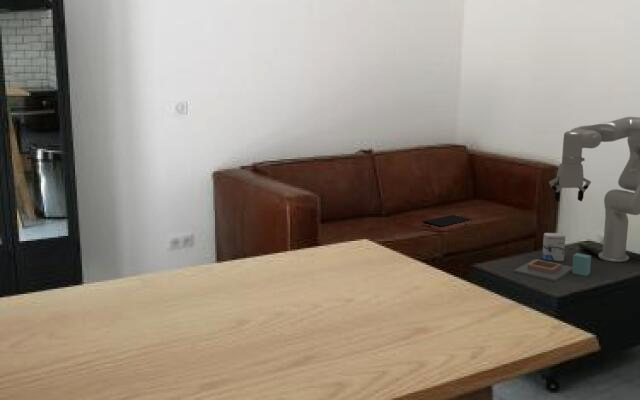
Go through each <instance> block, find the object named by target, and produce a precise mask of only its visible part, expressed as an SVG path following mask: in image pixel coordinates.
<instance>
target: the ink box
mask: <svg viewBox="0 0 640 400" xmlns="http://www.w3.org/2000/svg"><path fill="white" fill-rule="evenodd" d="M542 241H543V242H542V255H541V256H542V259H543V261H548V262H553V261H555V262H556V261H557V262H559V261H560V262H564V261H565V250H566V249H565V248H566V236H565V234H563V233H561V232H560V233H559V232H544V233H543V240H542Z"/></svg>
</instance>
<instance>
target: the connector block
mask: <svg viewBox="0 0 640 400" xmlns="http://www.w3.org/2000/svg"><path fill="white" fill-rule="evenodd" d="M591 265H592V255H590V254H589V255H588V254H584V253H579V252H576V253H575V254H573V255H572V266H571V267H572V271H571V273H572V274H575V275H579V276H584V277H588V276H589V275H590V274H591Z"/></svg>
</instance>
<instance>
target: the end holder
mask: <svg viewBox="0 0 640 400" xmlns="http://www.w3.org/2000/svg"><path fill="white" fill-rule="evenodd" d="M513 273H515V274H519V275H524V276H529V277H533V278H537V279H541V280H546V281H551V282H554V281H555V282H557V281H559V280H560V279H562V278H563V277H565V276H566V275H568V274H570V273H572V266H570V265H564V264H562V263H558V262H557V263H556V262H553V261H545V260H544V259H543V260H542V259H536V258H534V259H533V260H531V261H529V262H527V263H525V264H524V265H521V266H519V267H517V268H516V269H514V270H513Z"/></svg>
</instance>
